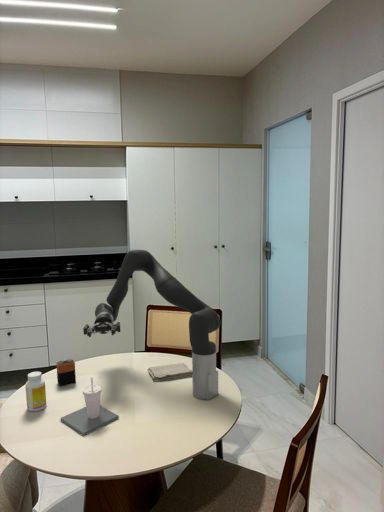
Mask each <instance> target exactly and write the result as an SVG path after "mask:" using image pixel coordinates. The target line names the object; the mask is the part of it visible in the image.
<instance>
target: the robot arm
mask: <svg viewBox="0 0 384 512" xmlns="http://www.w3.org/2000/svg"><path fill="white" fill-rule="evenodd" d="M134 272H144V273H146V274H147V275H148V276H149V277H150V278H151V279H152V280H153V283H154V287H155V290H156V292H157V293H158V294H159V295H160V296H161V297H162V298H163V299H164V300H165V301H166V302H168V303H169V304H170V305H173V306H175V307H178V308H180V309H183V310H185V311H187V312H189V313H190V314H191V315H190V316H189V319H188V334H189V344H190V348H191V358H192V359H191V365H192V366H191V371H192V376H191V377H192V378H191V379H192V381H191V382H192V395H193V397H195V398H196V399H201V400H208V401H210V400H211V399H213V398H215V397H216V396H218V395H219V370H217V345H216V342H213V341H211V340H210V337H209V336H210V335H209V334H212V333H213V332H216V331H217V330H219V328H220V327H221V318H220V316H219V314H218V312H217V311H215V309H213V308H212V307H211V306H210V305H208V304H207V303H205V302H204V301H202V300H201V299H200V298H199V297H197V296H196V295H195V294H194V293H193V292H192V291H190V290H189V289H188V288H187V287H186V286H185V285H183V284H182V283H181V282H180V281H179V280H178V279H177V278H176V277H174V276H173V275H172V273H170V272H169V271H168V270H166V268H164V267H163V266H162V265H161V264H160V262H159V261H158V260H157V259H156V258H155V257H154V256H153V254H152V253H150V252H149V251H148V250H145V249H131V250H129V251H127V253H126V254H125V256H124V258H123V261H122V264H121V266H120V270H119V271H118V275H117V278H116V280H115V283H114V285H113V287H112V288H111V290H110V291H109V293H108V295H107V296H106V303H104V302H101V303H99V304H98V305H96V308H95V310H94V316H95V320H94V322H93V325H89V324H88V323H87V324H85V325H84V327H83V328H82V329H83V335H84V336H87V337H88V338H91V337H92V336H93V335H96V334H101V335H106V334H108V333H109V334H111V336H114V335H116V333H117V332H118V333H120V332H122V331H121V322H119V321H117V322H116V320H117V319H118V316H119V311H120V307H121V305H122V303H123V301H124V300H125V298H126V297H127V294H128V292H129V281H130V278H131V276H133V275H132V274H133V273H134ZM114 322H116V323H115V324H114Z"/></svg>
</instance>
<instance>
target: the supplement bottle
mask: <svg viewBox="0 0 384 512" xmlns="http://www.w3.org/2000/svg"><path fill="white" fill-rule="evenodd" d="M42 376H43V375H42V372H41V371H32V372H30V373H29V372H28V374H27V381H26V382H25V398H26V409H27V410H28V411H29V412H37V411H42V410H44V409H45V408H46V407H47V395H46V394H47V393H46V381H45V379H44V378H42Z"/></svg>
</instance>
